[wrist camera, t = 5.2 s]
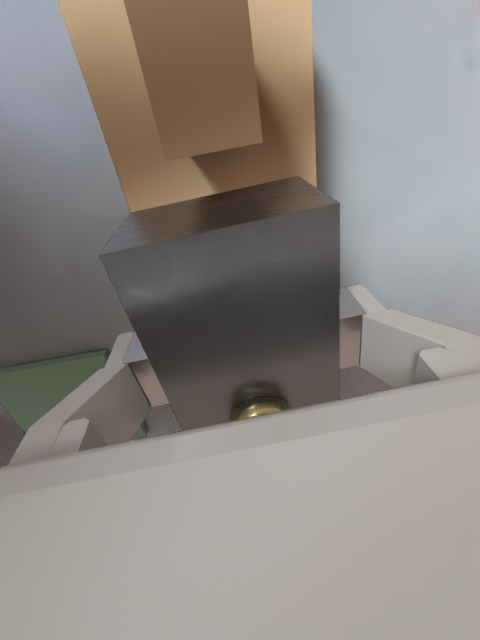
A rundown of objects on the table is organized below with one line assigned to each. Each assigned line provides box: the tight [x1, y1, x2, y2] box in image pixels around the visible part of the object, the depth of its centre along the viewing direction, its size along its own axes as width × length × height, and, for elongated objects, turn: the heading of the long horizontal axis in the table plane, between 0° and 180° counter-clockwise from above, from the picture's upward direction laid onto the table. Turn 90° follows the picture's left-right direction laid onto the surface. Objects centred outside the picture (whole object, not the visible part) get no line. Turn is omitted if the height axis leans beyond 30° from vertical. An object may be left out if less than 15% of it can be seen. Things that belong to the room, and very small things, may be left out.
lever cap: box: [99, 176, 340, 431], centre depth 9 cm, size 8×4×4 cm, turn 11°
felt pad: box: [0, 349, 147, 440], centre depth 21 cm, size 8×8×1 cm
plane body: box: [58, 0, 317, 213], centre depth 13 cm, size 21×7×9 cm, turn 9°
